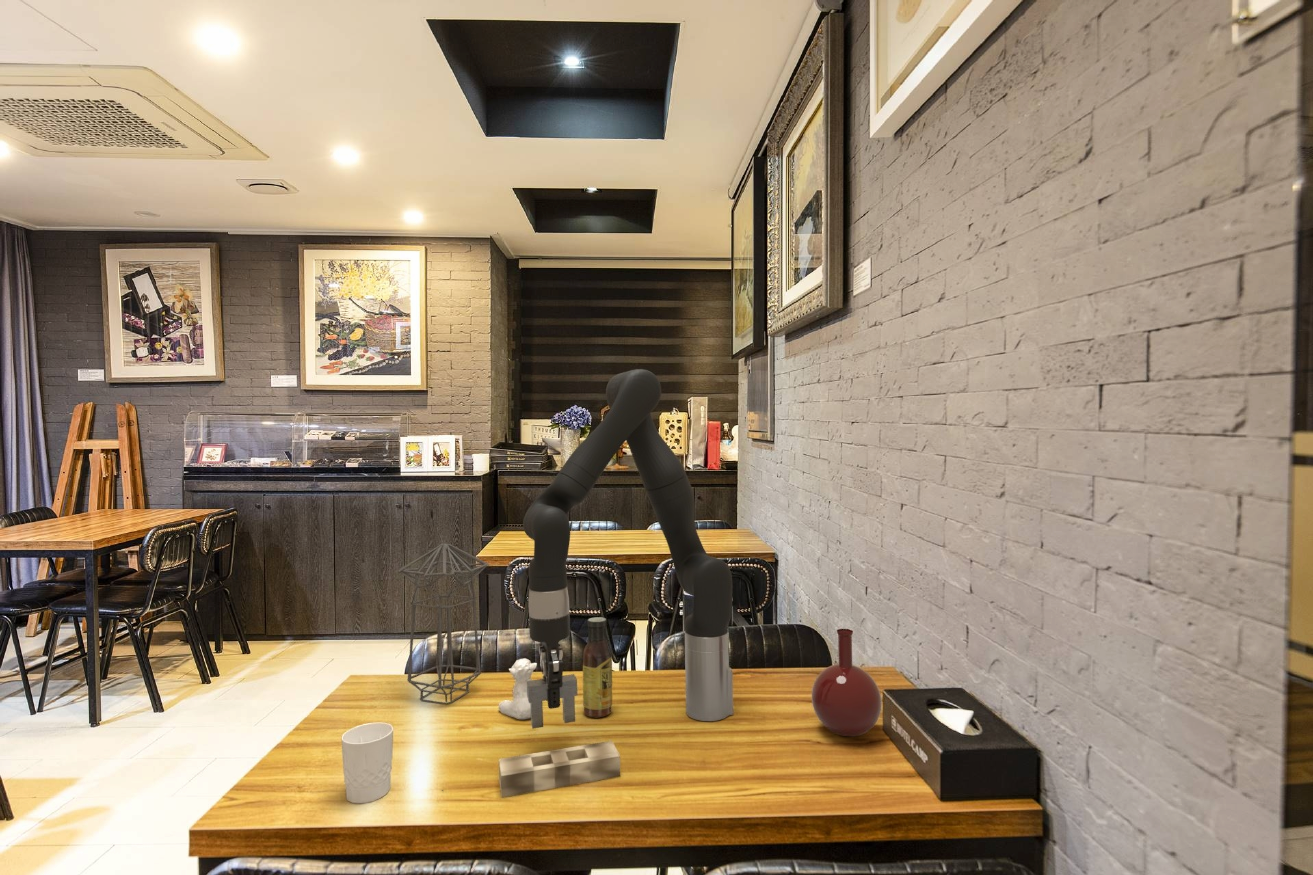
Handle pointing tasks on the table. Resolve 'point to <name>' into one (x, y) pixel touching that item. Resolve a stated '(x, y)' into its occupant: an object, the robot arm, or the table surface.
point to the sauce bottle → (597, 671)
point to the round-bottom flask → (846, 694)
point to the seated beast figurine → (519, 691)
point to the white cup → (367, 761)
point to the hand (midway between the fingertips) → (552, 703)
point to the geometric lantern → (406, 573)
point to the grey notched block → (539, 694)
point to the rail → (558, 768)
